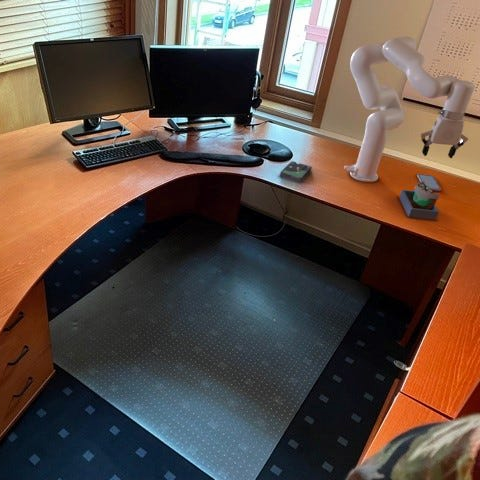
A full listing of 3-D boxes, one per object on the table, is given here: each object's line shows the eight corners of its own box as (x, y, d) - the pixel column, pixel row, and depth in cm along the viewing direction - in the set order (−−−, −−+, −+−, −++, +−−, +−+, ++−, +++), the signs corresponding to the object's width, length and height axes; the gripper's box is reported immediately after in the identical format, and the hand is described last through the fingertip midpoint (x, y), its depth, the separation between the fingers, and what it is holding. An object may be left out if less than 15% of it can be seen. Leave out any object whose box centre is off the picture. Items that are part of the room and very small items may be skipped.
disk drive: (290, 166, 229) (279, 177, 219) (291, 160, 228) (280, 171, 217) (310, 171, 225) (300, 183, 214) (312, 166, 223) (302, 177, 213)
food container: (402, 201, 204) (410, 180, 198) (415, 201, 204) (423, 180, 199) (417, 216, 194) (426, 195, 188) (431, 216, 194) (440, 194, 189)
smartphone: (433, 175, 224) (441, 189, 211) (432, 177, 224) (440, 191, 212) (416, 173, 225) (424, 187, 212) (416, 175, 225) (423, 189, 213)
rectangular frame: (408, 217, 193) (411, 208, 191) (399, 197, 206) (402, 189, 204) (435, 220, 192) (439, 211, 189) (424, 200, 205) (427, 192, 203)
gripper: (431, 115, 179) (416, 157, 188) (480, 119, 176) (463, 161, 186) (425, 109, 185) (412, 150, 194) (473, 113, 182) (456, 154, 192)
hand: (437, 155), depth 190 cm, fingers open, 9 cm apart
